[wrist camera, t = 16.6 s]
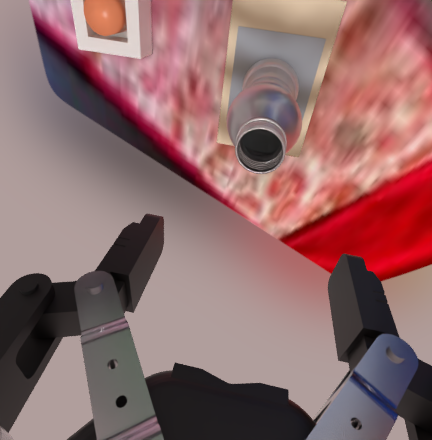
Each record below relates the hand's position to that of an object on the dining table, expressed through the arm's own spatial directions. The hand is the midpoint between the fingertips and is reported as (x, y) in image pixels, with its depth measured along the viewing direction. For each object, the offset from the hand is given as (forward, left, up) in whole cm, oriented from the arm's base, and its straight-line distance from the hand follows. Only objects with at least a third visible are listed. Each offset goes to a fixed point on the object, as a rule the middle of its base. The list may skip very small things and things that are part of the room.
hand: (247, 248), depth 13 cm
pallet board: (0, 0, -32) cm, 32 cm away
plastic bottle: (0, 0, -30) cm, 30 cm away
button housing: (-5, -20, -32) cm, 38 cm away
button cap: (-5, -20, -31) cm, 37 cm away
